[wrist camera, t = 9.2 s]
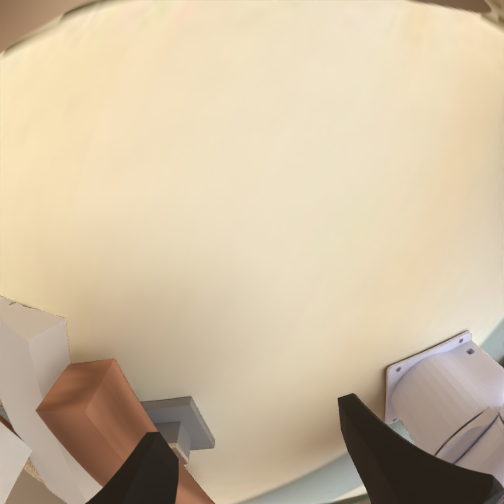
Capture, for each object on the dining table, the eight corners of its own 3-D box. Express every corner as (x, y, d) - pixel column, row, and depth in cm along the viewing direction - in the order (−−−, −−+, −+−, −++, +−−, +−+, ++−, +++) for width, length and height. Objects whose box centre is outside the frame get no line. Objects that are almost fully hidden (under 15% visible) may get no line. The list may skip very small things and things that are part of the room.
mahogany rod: (114, 358, 16) (84, 412, 11) (216, 505, 21) (216, 545, 16) (68, 364, 16) (35, 410, 11) (180, 507, 21) (176, 544, 17)
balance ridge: (191, 396, 22) (185, 431, 18) (214, 440, 23) (212, 473, 19) (110, 404, 22) (96, 434, 18) (139, 445, 23) (130, 475, 20)
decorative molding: (63, 472, 30) (113, 504, 28) (48, 489, 25) (99, 523, 24) (7, 280, 22) (70, 316, 20) (-29, 294, 17) (27, 340, 15)
